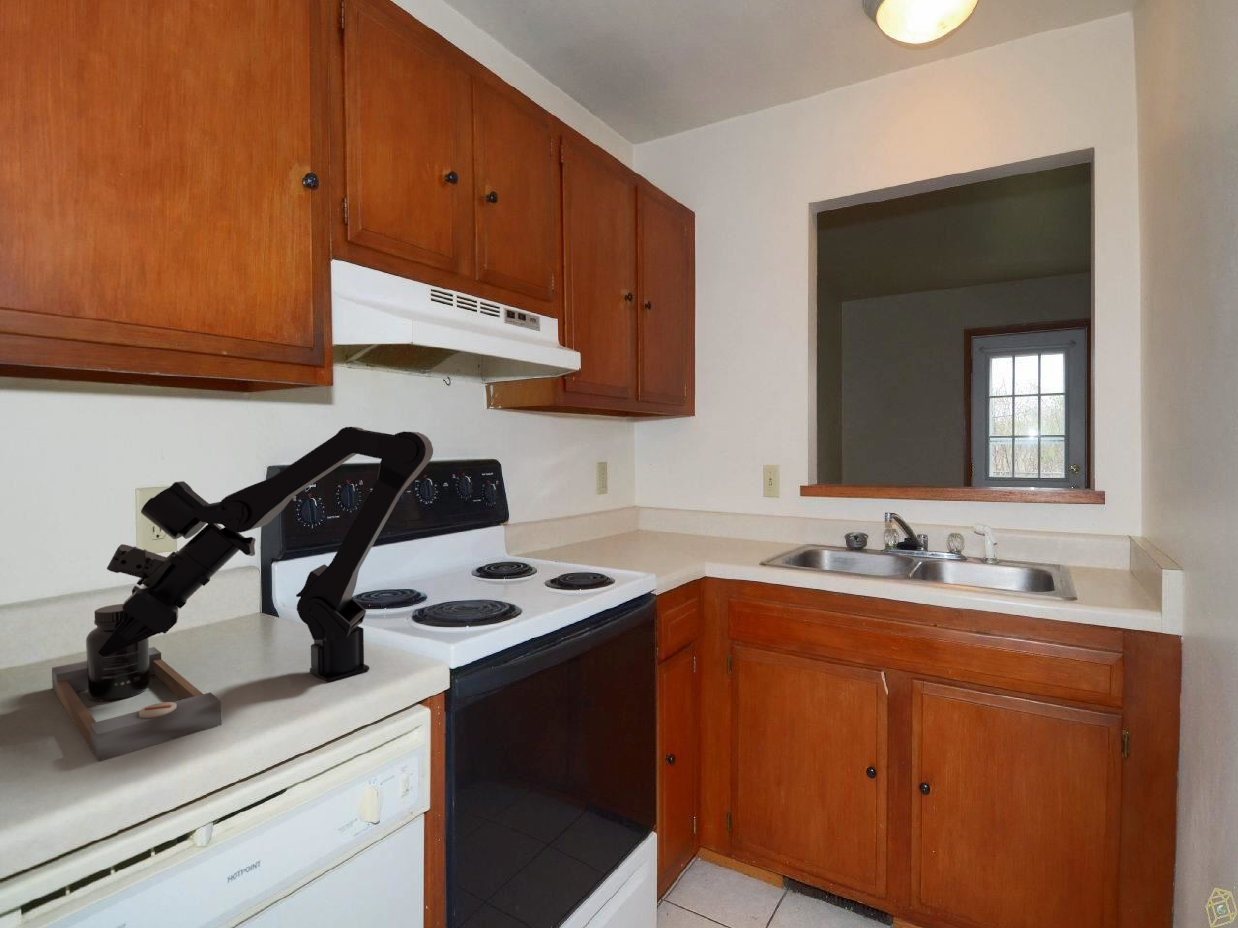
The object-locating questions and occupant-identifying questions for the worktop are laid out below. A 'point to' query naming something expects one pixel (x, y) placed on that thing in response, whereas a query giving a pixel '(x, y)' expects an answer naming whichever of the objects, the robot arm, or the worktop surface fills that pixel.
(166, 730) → the wooden frame
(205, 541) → the robot arm
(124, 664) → the supplement bottle
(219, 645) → the worktop surface
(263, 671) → the worktop surface
